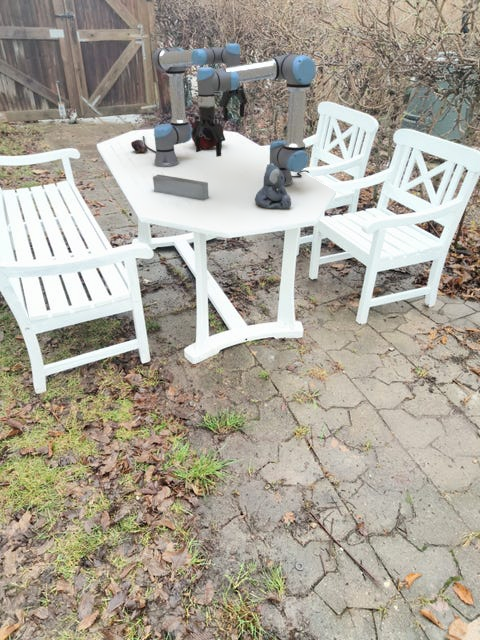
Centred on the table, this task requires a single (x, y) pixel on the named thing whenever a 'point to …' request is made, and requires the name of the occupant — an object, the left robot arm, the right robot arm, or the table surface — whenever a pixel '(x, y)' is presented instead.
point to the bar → (181, 187)
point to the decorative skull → (206, 137)
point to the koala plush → (273, 190)
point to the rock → (138, 146)
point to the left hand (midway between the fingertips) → (233, 118)
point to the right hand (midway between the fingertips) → (208, 153)
